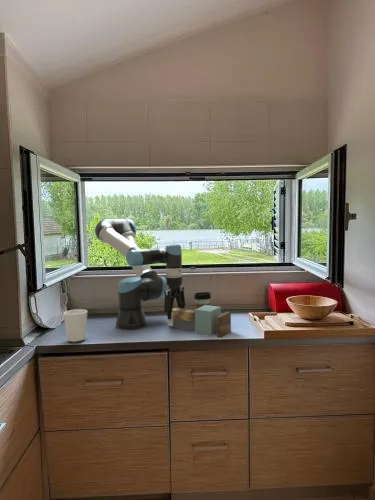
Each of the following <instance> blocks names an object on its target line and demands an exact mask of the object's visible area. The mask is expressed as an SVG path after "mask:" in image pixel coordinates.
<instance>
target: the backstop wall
mask: <svg viewBox="0 0 375 500" xmlns="http://www.w3.org/2000/svg"><path fill="white" fill-rule="evenodd" d="M231 313H232V312H230V311H225V312H223V313H221V315H220V316H218V317H217V333H216V336H217V337H216V338H220V339H222V338H224V337H225V336H227V335H228V334H230V333H231V332H232V314H231Z"/></svg>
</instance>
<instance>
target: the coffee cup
mask: <svg viewBox="0 0 375 500" xmlns="http://www.w3.org/2000/svg"><path fill="white" fill-rule="evenodd" d="M211 297H212V296H211V292H210V291H202V292H201V291H200V292H195V293H194V296H193V298H194V307H195V309H198V308H200V307H202V306H205V305H209V306H211Z"/></svg>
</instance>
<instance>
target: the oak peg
mask: <svg viewBox="0 0 375 500" xmlns="http://www.w3.org/2000/svg"><path fill="white" fill-rule="evenodd" d="M177 308H178V307H177ZM177 308H175V307H173V309H172V312H173V319H179V320H186V321H195V310H192V309H185V308H183V309H177Z"/></svg>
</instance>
